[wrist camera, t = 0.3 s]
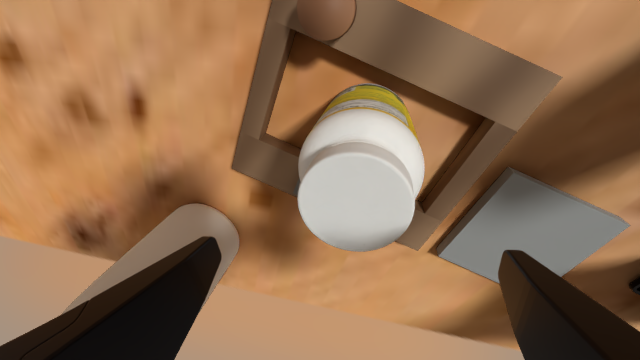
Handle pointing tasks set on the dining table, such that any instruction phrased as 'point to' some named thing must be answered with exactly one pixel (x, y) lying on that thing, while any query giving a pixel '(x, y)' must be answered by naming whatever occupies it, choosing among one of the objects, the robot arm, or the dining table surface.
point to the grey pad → (528, 227)
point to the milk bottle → (171, 246)
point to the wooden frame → (408, 64)
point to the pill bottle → (360, 170)
